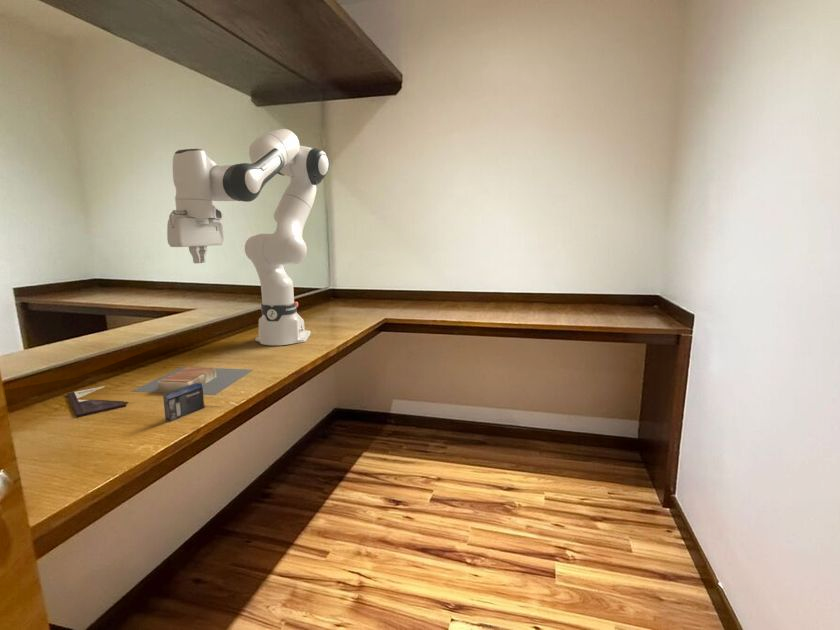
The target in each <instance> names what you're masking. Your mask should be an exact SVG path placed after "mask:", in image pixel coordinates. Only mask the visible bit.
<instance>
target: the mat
mask: <svg viewBox="0 0 840 630" xmlns="http://www.w3.org/2000/svg"><path fill="white" fill-rule="evenodd" d="M187 367H188V366H180V367H178V368H177V369H175V370H172V371H170V372H168V373H166V374H164V375H162V376H159V377H157V378H156V379H153V380H151V381H149V382H147V383H145V384H143V385H141V386H139V387H136V388H135V389H132V390H130V392H133V393H134V392H135V393H138V392H139V393H153V394H155V393H157V394H164V393H167V392H159V390H158V382H159V381H160V380H162V379H164V378H166V377H168V376H170V375H172V374H174V373H176V372H178V371H180V370H182V369H185V368H187ZM253 371H254V369H251V368H250V369H246V368H220V367H218V368H216V378H214V379H212V380H211V381H209V382H207V383H205V384H204V385H202V388H203V396H204V395H205V396H206V395H207V396H216V395H218V394H219V393H221V392H222V391H224V390H225V389H228V387H230V386H232V385H233V384H234V383H236V382H237V381H239V380H241V379H242V378H244V377H245V376H247V375H248V374H250V373H251V372H253Z"/></svg>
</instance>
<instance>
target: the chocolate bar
mask: <svg viewBox="0 0 840 630" xmlns="http://www.w3.org/2000/svg"><path fill="white" fill-rule="evenodd" d="M105 387H106V385H102V386H99V387H92V388H88V389H83V390H78V391H72V392H67V393H66V395H67V398H68V400H69V403H70V405H71V407H72V410H73V412H74V414H75V417H76V418H82V417H86V416H91V415H95V414H99V413H103V412H107V411H108V412H109V411H112V410H117V409H122V408H126V407H127V404H126V402H125V401H123V400H108V399H107V400H103V399H102V400H101V399H87V398H86V399H85V398H84V399H82V398H81V397H84V396H86V395H89V394H92V393H94V392H96V391H98V390H100V389H103V388H105ZM79 398H80V399H79Z"/></svg>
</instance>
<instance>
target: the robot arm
mask: <svg viewBox="0 0 840 630" xmlns="http://www.w3.org/2000/svg"><path fill="white" fill-rule="evenodd" d="M248 149H249V150H248V154H249V155H248V157H249V159H250V161H251V163H248V162H246V163H245V162H244V163H236V164H226V165H224V164H223V165H220V164H218V163H217V162H215V161H213V160H212V158H210V157H209V155H207V153H206V150H205V149H201V148H186V149H178V150H176V151H175V152H174V154H173V156H172V180H173V185H174V187H175V195H174V196H175V197H174V198H175V199H174V201H175V202H174V203H175V209H173V210H172V211H171V212H170V214H169V215H168V220H167V225H166V227H167V228H166V229H167V230H166V231H167V233H166V235H167V237H166V238H167V243H168V245H169V247H170V248H188V251H189V253H190V255H191V256H192V263H194V264H204V263H206V255H207V252H208V247H209V246H211V247H213V246H222V245H223V243H224V225H223V221H222V220H223V219H224V214H223V212H222V210H220V209H219V208H217V207H216V206H215V205H213V202H245V203H247V202H248V203H249V202H252V201H254V200H256V199H257V198H258V196H259V195H260V193H261V191H262V190H263V188H264V186H265V185H266V184H267V183H268V182H269V181H271V180H272V178H274V177H275V176H276V175H280V176H286V177H290V182H289V184H288V185H287V187H286V189H285V190H284V192H283V194H282V196H281V198H280V200H279V202H278V204H277V206H276V208H275V210H274V213H273V217H274V218H273V219H274V221H275V222H276V224H277V225H276V228H275V231H274V232H273V233H258V234H256V235H252V236H250V237H248V239H246V241H245V244H244V253H245V255H246V257H247V258H248V259H249V260H250V261H251V263H252V264H253V266H254V268H255V270H256V273H257V276H258V279H259V282H260V292H261V304H260V306H261V307H260V311H261V312H260V313H261V315H262V316H260V317H259V318H258V336H256V337H255V341H256V342H259V343H260V344H261V345H264V346H285V345H294V344H299V343H305V342H306V341H307V340H308V339H309V337H310V336H311V334H312V332H311V331H310V330H307V329H305V328H306V327H305V320H304V319H303V318H302V317H301V315H299V313H298V309H297V308H299V302H298V301H295V295H294V294H295V293H294V289H295V288H294V281H293V279H291V277H290V276H289V275H288V274H287V272H286V270H285V268H284V266H285V267H286V266H287V267H290V266H295V265H299V264H301V263H302V262H304V260H305V259H306V257H307V253H308V248H307V244H306V242H305V241H304V239H303V232H304V227H305V225H306V223H307V220H308V217H309V215H310V213H311V211H312V208H313V206H314V202H315V199H316V194H317V185H319V184H320V183H322V182H323V181H322V180H324V179H325V177H326V176H327V175H328V173H329V169H330V159H329V157H328V155H327V153H326V151H324V150H322V149H319V148H316V147H309V146H304V145H300V141H299V139H298V136H297V135H296V134H295V133H294V132H293V131H292V130H289V129H288V128H280V129H274V130H271V131H270V132H267V133H265V134H262V135H260V136H259V137H257V138H256V139H254V141H253V142H252V143H250V145H249V148H248Z"/></svg>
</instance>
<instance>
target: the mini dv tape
mask: <svg viewBox="0 0 840 630" xmlns="http://www.w3.org/2000/svg"><path fill="white" fill-rule="evenodd" d="M162 399H163V407H164V409H163V410H164V417H165V418H164V419H165V421H167V422H170V423H171V422H173V421H177V420H178V419H180V418H183V417H186V416H189V415H190V414H193V413H195V412H198V411H201V410H203V409H205V401H204V400H205V399H204V395H203V388H202V384H201V383H198V382H197V383H194V384H191V385H188V386H185V387H182V388H179V389H176V390H173V391H170V392H167V393H162Z"/></svg>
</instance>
